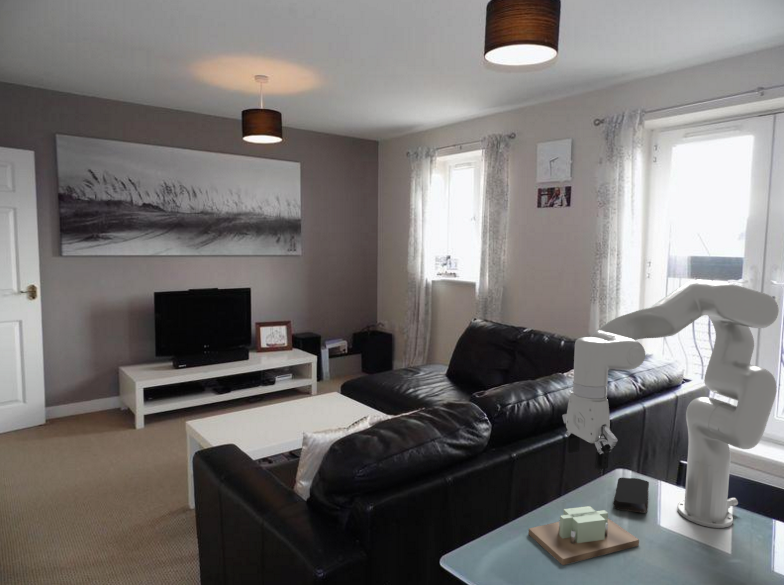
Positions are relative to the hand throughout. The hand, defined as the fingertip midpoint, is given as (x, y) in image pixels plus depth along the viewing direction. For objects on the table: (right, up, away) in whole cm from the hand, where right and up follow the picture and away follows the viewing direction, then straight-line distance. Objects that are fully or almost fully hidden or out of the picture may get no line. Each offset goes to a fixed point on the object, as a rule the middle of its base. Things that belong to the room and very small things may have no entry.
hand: (586, 459), depth 125 cm
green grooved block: (0, -19, +2) cm, 19 cm away
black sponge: (+20, -19, +21) cm, 35 cm away
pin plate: (0, -20, +2) cm, 20 cm away
